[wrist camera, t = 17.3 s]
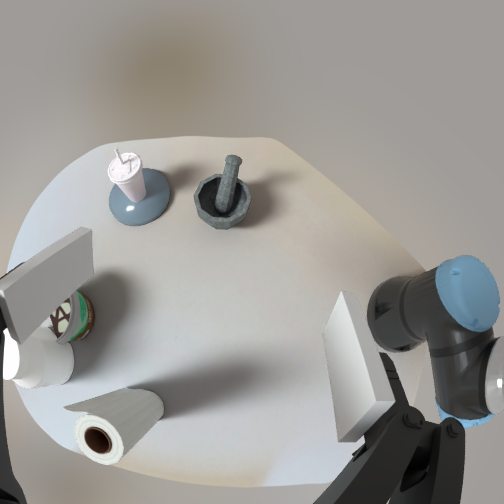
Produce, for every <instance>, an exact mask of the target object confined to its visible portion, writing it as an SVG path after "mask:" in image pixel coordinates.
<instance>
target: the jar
mask: <svg viewBox="0 0 504 504" xmlns="http://www.w3.org/2000/svg"><path fill="white" fill-rule="evenodd" d="M3 332H4V334H5V346H4V362H3V379H7V380H13V381H14V382H16V383H17V384H18V385H20V386H22V387H24V388H26V389H32V388H36V387H45V386H57V385H62V384H64V383H65V382H66V381H68V379H69V378H70V376H71V374H72V372H73V368H74V355H73V350H72V347H71V345H70V343H68V342H67V343H65V344H64V345H60V344H58V343H57V342H55V340H57V336H56V335H55V334H54V333H53V332H52V330H50V329H49V328H48V327H41V326H39V327H38V328H37V329H36V330H35V331H34V332H33V333H32V334H31V335H30V336H29V337H28V338H27V339H26V341H25V342H24V343H23V344H22V345H21V344H19V343H18V342H16V341H15V340H13V339H12V338H11V336H10V334H9V331H8V329H7V328H6V329H5V330H4V331H3Z"/></svg>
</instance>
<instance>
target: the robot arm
mask: <svg viewBox="0 0 504 504" xmlns="http://www.w3.org/2000/svg"><path fill="white" fill-rule="evenodd" d="M93 275H94V268H93V249H92V229H88V228H84V227H80V228H79V229H77V230H75V231H74V232H72V233H70V234H68V235H67V236H65V237H63V238H62V239H60V240H59V241H57V242H55V243H54V244H52V245H50V246H49V247H47V248H46V249H44V250H43V251H41V252H40V253H38V254H37V255H35V256H33V257H32V258H30V259H29V260H28V261H26V262H23V263H21V264H19V265H18V266H16V267H15V268H14V270H13V269H12V270H11V271H9V272H8V273H7V274H5V275H4V276H3V277H1V278H0V504H27V502H26V499H25V496H24V493H23V490H22V488H21V487H20V485H19V483H18V482H17V480H16V479H15V477H14V475H13V472H12V467H11V462H10V457H9V451H8V445H7V437H6V429H5V419H4V404H3V362H4V346H5V334H4V332H3V331H4V330H5V329H6V328H7V329H8V331H9V334H10V336H11V338H12V339H13V340H15V341H16V342H18V343H19V344H21V345H22V344H23V343H24V342H25V341H26V339H27V338H28V337H29V336H30V335H31V334H32V333H33V332H34V331H35V330H36V329H37V328H38V327H39V326H40V325H41V324H42V323H43V322H44V321H45V320H46V319H47V318H48V317H49V316H50V315H51V314H52V313H53V312H54V311H55V310H56V309H57V308H58V307H59V306H60V305H61V304H62V303H63V302H64V301H65V300H66V299H67V298H68V297H69V296H71V295H72V294H73V293H74V292H75V291H76V290H77V289H78V288H79V287H80V286H81V285H82V284H84V283H85V282H86V281H87V280H88V279H89V278H90V277H91V276H93ZM499 303H500V297H499V291H498V287H497V284H496V281H495V279H494V277H493V275H492V273H491V272H490V270H489V269H488V267H487V266H486V265H485V264H484V263H482V262H481V261H480V260H479V259H478V258H476V257H473V256H469V255H462V256H459V257H456V258H454V259H451V260H446V261H444V262H443V263H441V264H440V266H438V267H436V268H434V269H432V270H430V271H427V272H425V273H423V274H421V275H419V276H417V277H415V278H410V277H395V278H392V279H389V280H387V281H385V282H383V283H382V284H380V285H379V286H378V287H377V288H376V289H375V291H374V292H373V294H372V296H371V298H370V301H369V304H368V310H367V320H368V324H367V321H366V319H365V316H364V314H363V311H362V309H361V306H360V304H359V302H358V299H357V297H356V295H355V294H354V293H349V292H345V291H341V293H340V295H339V298H338V300H337V302H336V304H335V307H334V309H333V311H332V313H331V316H330V318H329V320H328V322H327V324H326V326H325V329H324V331H323V333H322V335H323V341H324V347H325V352H326V358H327V365H328V371H329V377H330V384H331V391H332V398H333V405H334V412H335V420H336V428H337V437H338V442H357V441H358V440H359V439H360V438H361V437H362V436H363V435H364V438H365V443H364V444H363V445H362V446H361V447H360V448H359V449H358V450H356V451H355V452H354V453H353V454H352V455H353V456H354V457H353V458H352V459H351V461H350V462H349V463H348V464H347V466H346V467H345V468H344V469H343V471H342V472H341V473H340V474H339V475H338V477H337V478H336V479H335V480H334V481H333V482H332V484H331V485H330V486H329V487H328V488H327V489H326V490H325V491H324V493H323V494H322V495H321V496H320V497H319V498H318V499H317V500H316V501H315V502H314V503H313V504H386V503H387V502H388V500H389V498H390V500H389V503H388V504H460V500H461V492H462V485H463V474H464V461H465V430H464V428H471V427H472V426H473V425H477V426H479V425H482V424H484V423H486V422H487V421H489V420H490V419H491V418H493V416H494V415H495V414H498V413H500V412H501V411H503V409H504V336H503V337H498V338H494V333H493V328H492V326H493V325H494V323H495V322H496V320H497V318H498V315H499V310H500V308H499V306H498V304H499ZM373 338H374V339H373ZM374 340H375V341H376V342H377V344H378V345H379V346H381V347H382V348H383V349H385V350H387V351H390V352H406V351H409V350H412V349H414V348H415V347H417V346H418V345H420V344H421V343H423V342H424V341H426V340H427V342H428V347H429V352H430V357H431V363H432V370H433V377H434V385H435V393H436V397H435V399H436V404H437V406H438V412H439V416H440V418H441V420H442V422H441V423H440V424H435V423H432V422H428V421H425V418H424V416H423V415H422V413H421V412H420V411H419V410H418V409H416V408H414V407H412V406H409V403H408V401H407V398H406V395H405V392H404V389H403V387H402V384H401V381H400V380H399V376H398V373H396V368H395V366H394V363H393V361H392V360H391V359H390V357H389V356H388V355H387V354H386V353H381V352H378V349H377V347H376V344H375V341H374Z"/></svg>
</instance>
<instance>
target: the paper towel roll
mask: <svg viewBox="0 0 504 504" xmlns="http://www.w3.org/2000/svg"><path fill="white" fill-rule="evenodd" d="M63 408H64V409H65V410H67V411H71V412H74V413H81V412H86V413H89V414H87V415H84V416H82V417H80V418H79V419H78V421H77V422H76V423H75V428H74V435H75V439H76V442H77V444H78V446H79V447H80V449H81V450H82V452H83V453H84V454H86V455H87V456H88V457H89V458H90V459H91V460H94V461H96V462H98V463H100V464H107V465H111V464H114V463H117V462H118V461H119V460H120V459H121V458H122V457H123V456H124V455H125V454H126V453H127V452H128V451H129V450H130V449H131V448H132V447H133V446H134V445H135V444H136V443H137V442H138V441H139V440H140V439H141V438H142V437H143V436H144V435H145V434H146V433H147V432H148V431H149V430H150V429H151V428H152V427H153V426H154V425H155V424H156V422H157V421H158V420H159V419H160V418H161V417H162V416H163V412H164V405H163V402H162V400H161V399H160V397H159V396H158V395H156V394H155V393H154V392H151V391H148V390H144V389H134V390H132V389H127V388H122V389H119V390H116V391H113V392H110V393H107V394H104V395H101V396H98V397H95V398H92V399H89V400H85V401H82V402H79V403H75V404H72V405H68V406H65V407H63Z"/></svg>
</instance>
